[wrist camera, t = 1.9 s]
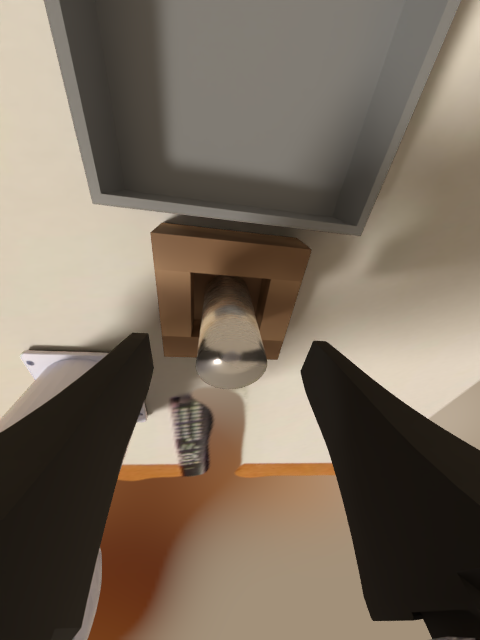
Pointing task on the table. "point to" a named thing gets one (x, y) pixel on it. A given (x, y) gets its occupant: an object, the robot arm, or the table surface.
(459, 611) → the robot arm
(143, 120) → the tray
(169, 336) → the pin block
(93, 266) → the table surface
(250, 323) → the pin
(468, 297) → the table surface
